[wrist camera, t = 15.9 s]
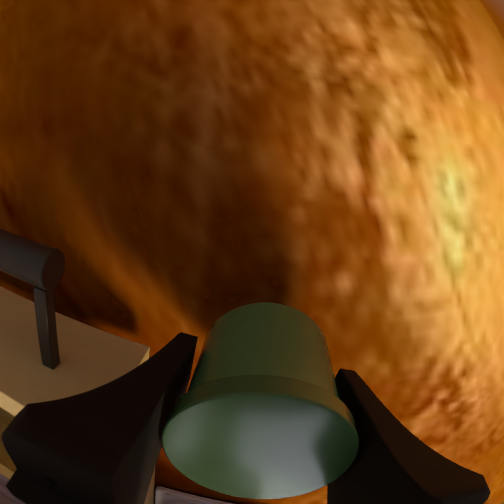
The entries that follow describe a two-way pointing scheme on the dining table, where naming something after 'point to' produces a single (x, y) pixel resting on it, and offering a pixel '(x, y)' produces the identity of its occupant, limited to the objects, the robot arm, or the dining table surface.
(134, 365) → the drawer
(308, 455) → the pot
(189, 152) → the dining table surface
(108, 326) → the dining table surface
